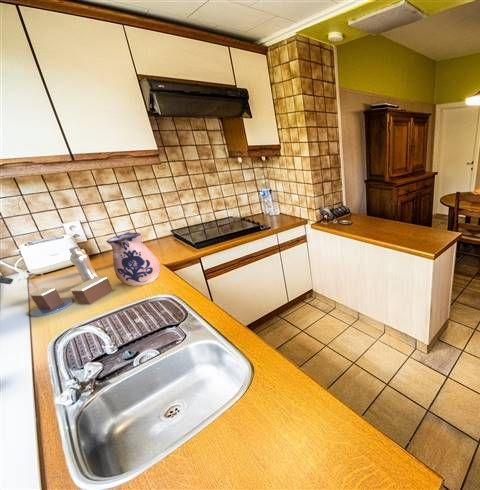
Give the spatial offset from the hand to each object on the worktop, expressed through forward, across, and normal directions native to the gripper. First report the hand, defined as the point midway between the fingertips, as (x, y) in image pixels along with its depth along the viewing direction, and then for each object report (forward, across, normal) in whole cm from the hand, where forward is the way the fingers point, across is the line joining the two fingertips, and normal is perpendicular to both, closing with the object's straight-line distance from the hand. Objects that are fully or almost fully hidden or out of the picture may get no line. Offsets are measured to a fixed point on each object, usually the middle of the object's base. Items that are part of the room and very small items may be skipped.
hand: (2, 281), depth 104 cm
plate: (+20, 0, +8) cm, 21 cm away
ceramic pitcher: (+36, -22, -10) cm, 44 cm away
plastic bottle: (+35, +5, -7) cm, 36 cm away
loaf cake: (+25, -12, +1) cm, 28 cm away
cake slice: (+19, 0, +7) cm, 20 cm away
